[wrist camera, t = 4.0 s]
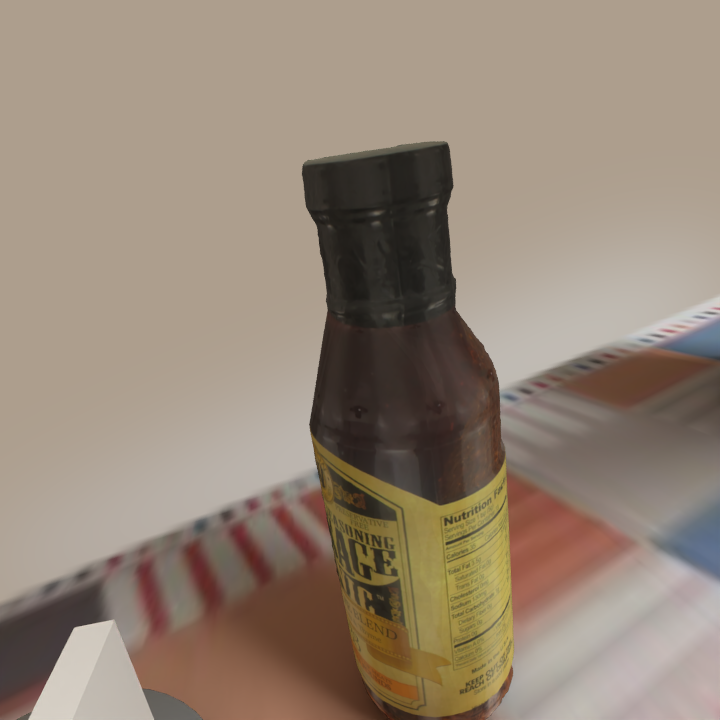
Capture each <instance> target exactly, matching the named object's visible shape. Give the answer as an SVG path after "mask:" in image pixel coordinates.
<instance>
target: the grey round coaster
mask: <svg viewBox="0 0 720 720" xmlns="http://www.w3.org/2000/svg"><path fill="white" fill-rule="evenodd" d="M142 690H143V693H144V695H145V698H146V700H147V703H148V705H149V708H150V710H151V713H152V715H153V718H154V720H203V719H202V718H201V717H200V716H199V715H198V714H197V712H196V711H194V710H193V709H192V708H190V707H189V706H188V705H186V704H185V703H183V702H182V701H180V700H178V699H176V698H174V697H172V696H170V695H167V694H164V693H161V692H157V691H154V690H150V689H142ZM31 713H32V712H31ZM31 713H28V714H26V715H24V716H22V717H20V718H18V719H17V720H28V719H29V717H30V715H31Z"/></svg>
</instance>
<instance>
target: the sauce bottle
mask: <svg viewBox="0 0 720 720" xmlns="http://www.w3.org/2000/svg"><path fill="white" fill-rule="evenodd" d="M302 176H303V182H304V191H305V202H306V207H307V209H308V211H309V213H310V215H311V217H312V219H313V220H314V222H315V223H316V225H317V229H318V237H319V246H320V254H321V257H322V260H323V266H324V276H325V280H326V289H327V298H326V302H327V307H328V312H327V318H326V324H325V329H324V335H323V341H322V348H321V354H320V361H319V367H318V374H317V380H316V387H315V393H314V400H313V407H312V412H311V419H310V424H309V425H310V432H311V437H312V442H313V447H314V454H315V460H316V465H317V469H318V474H319V479H320V483H321V488H322V496H323V500H324V504H325V510H326V515H327V522H328V526H329V531H330V535H331V540H332V547H333V550H334V557H335V562H336V567H337V573H338V576H339V580H340V585H341V591H342V596H343V600H344V605H345V610H346V615H347V620H348V625H349V630H350V635H351V640H352V645H353V650H354V655H355V660H356V663H357V666H358V669H359V671H360V673H361V675H362V680H363V682H364V684H365V687H366V690H367V693H368V694H369V696H370V697H371V699H372V700H373V701H374V703H375V704H376V705H377V706H378V708H379V709H380V710H381V711H382V712H383V713H385V715H386V716H388V718H389V719H390V720H485V719H487V718H488V717H489V716H491V714H492V713H493V712H494V710H495V709H496V708H497V707H498V706H499V705H500V703H501V700H502V698H503V697H504V696H505V694H506V693H507V692H508V690H509V687H510V683H511V680H512V676H513V668H512V660H513V653H514V639H513V616H512V592H511V568H510V545H509V523H508V501H507V478H506V453H505V447H504V444H503V441H502V439H501V419H500V396H499V382H498V377H497V374H496V370H495V368H494V365H493V362H492V360H491V359H490V357H489V355H488V353H487V352H486V351H485V349H484V346H483V344H482V343H481V342H480V341H479V340H478V339H477V338H476V337H475V335H474V334H473V332H472V331H471V329H470V328H469V327H468V326H467V324H466V323H465V321H464V320H463V319H462V318H461V316H460V315H459V313H458V312H457V311H456V308H455V293H456V279H455V278H454V277H453V274H452V267H451V257H450V252H451V251H450V238H449V228H448V215H447V205H448V202H449V199H450V197H451V191H452V189H453V178H452V166H451V158H450V149H449V146H448V143H447V142H444V141H443V142H422V143H414V144H406V145H399V146H396V147H391V148H385V149H378V150H371V151H363V152H358V153H350V154H345V155H338V156H331V157H324V158H320V159H315V160H308V161H306V162H305V163H304V164H303V168H302Z"/></svg>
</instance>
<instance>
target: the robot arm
mask: <svg viewBox="0 0 720 720" xmlns="http://www.w3.org/2000/svg"><path fill="white" fill-rule="evenodd" d="M28 720H154V718H153V715H152V713H151V710H150V708H149V705H148V703H147V700H146V698H145V695H144V693H143V690H142V688H141V685H140V683H139V680H138V678H137V675H136V673H135V670H134V668H133V665H132V663H131V660H130V658H129V655H128V653H127V650H126V648H125V645H124V643H123V640H122V638H121V635H120V633H119V630H118V628H117V625H116V622H115V620H110V621H105V622H100V623H95V624H90V625H85V626H80V627H75V628H74V629H73V631H72V633H71V635H70V637H69V639H68V641H67V643H66V645H65V647H64V649H63V651H62V653H61V655H60V657H59V659H58V661H57V663H56V665H55V667H54V669H53V671H52V673H51V675H50V677H49V679H48V681H47V683H46V685H45V687H44V689H43V691H42V693H41V695H40V697H39V699H38V701H37V703H36V705H35V707H34V709H33V711H32V713H31V715H30V717H29V719H28Z"/></svg>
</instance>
